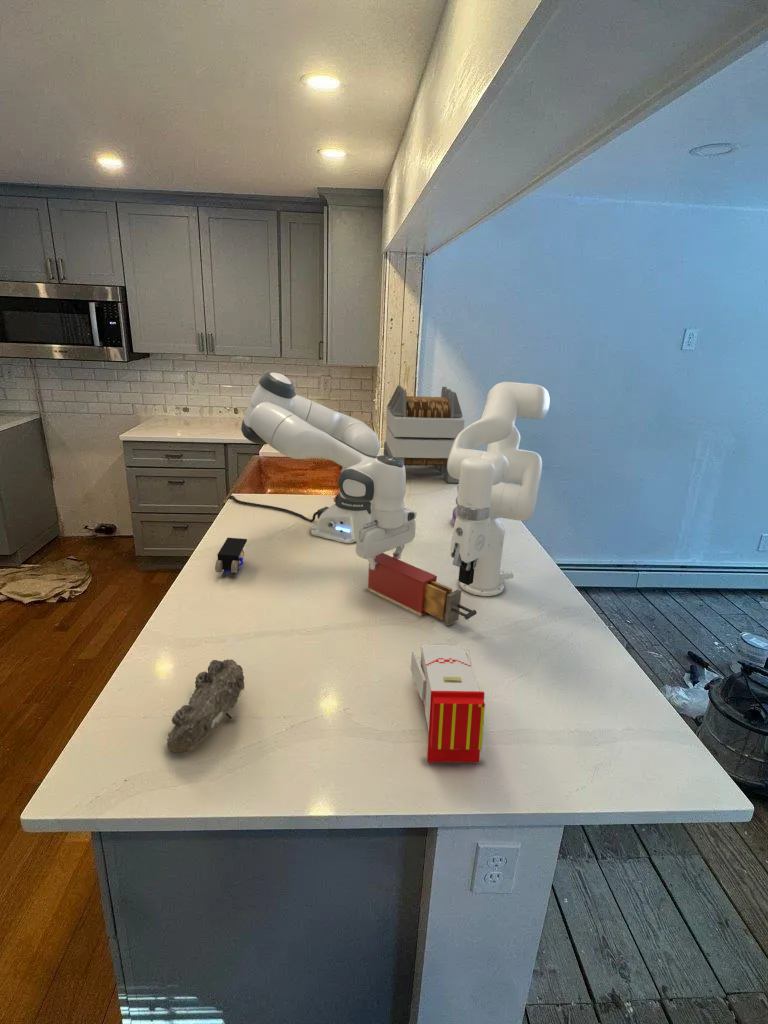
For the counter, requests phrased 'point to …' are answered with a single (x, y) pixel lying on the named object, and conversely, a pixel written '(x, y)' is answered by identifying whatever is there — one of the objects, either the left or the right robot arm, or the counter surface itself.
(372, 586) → the cabinet
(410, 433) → the transformer
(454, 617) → the drawer
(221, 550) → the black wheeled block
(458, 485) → the figurine
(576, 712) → the counter surface
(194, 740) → the fossil
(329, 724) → the counter surface
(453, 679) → the toy
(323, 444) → the left robot arm
